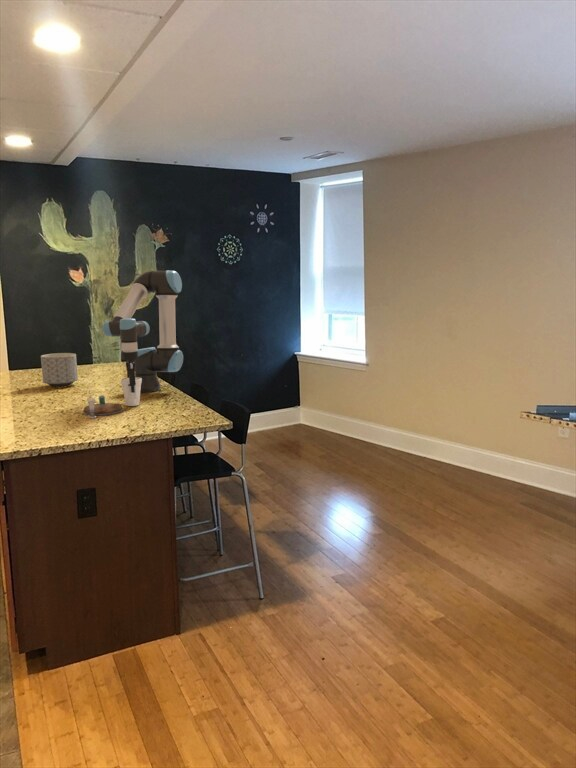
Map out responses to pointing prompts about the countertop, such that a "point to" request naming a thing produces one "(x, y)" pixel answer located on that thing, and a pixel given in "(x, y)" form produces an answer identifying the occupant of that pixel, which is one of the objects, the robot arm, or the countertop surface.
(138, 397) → the cup
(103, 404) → the brown and teal disc
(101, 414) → the base
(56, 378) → the planter
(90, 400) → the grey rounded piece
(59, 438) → the countertop surface
